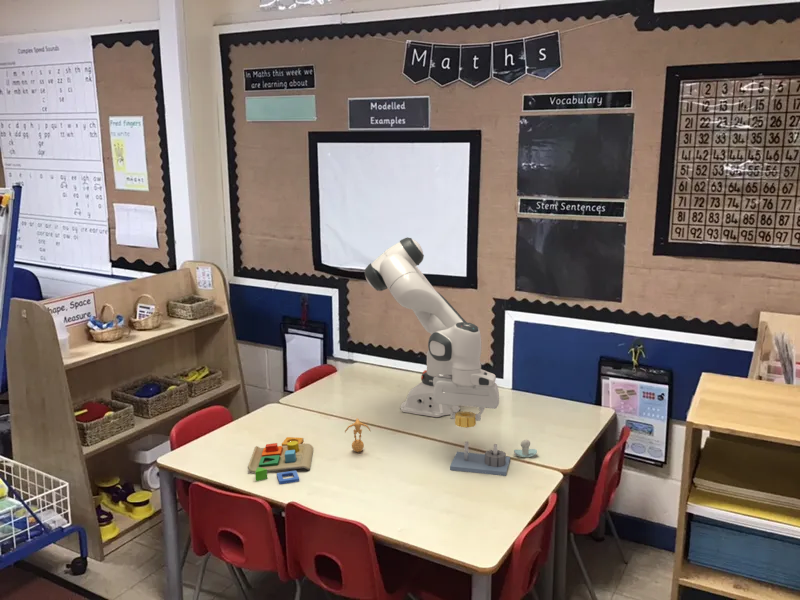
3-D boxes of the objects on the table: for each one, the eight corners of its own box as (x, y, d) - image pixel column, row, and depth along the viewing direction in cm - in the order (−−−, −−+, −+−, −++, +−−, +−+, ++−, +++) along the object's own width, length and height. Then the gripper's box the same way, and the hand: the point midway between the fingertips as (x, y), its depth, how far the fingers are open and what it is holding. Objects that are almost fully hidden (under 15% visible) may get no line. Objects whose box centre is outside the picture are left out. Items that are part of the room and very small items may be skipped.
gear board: (449, 469, 216) (450, 447, 215) (457, 455, 227) (457, 433, 226) (505, 475, 211) (506, 453, 210) (510, 460, 223) (510, 438, 222)
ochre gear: (453, 426, 216) (453, 417, 215) (457, 419, 222) (457, 410, 221) (473, 428, 214) (474, 418, 214) (477, 421, 220) (477, 412, 220)
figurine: (370, 448, 233) (369, 413, 231) (371, 455, 227) (370, 420, 225) (344, 449, 232) (344, 415, 230) (345, 457, 226) (344, 421, 224)
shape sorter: (259, 441, 240) (258, 428, 239) (315, 439, 241) (314, 426, 240) (243, 485, 207) (242, 471, 206) (308, 483, 208) (307, 468, 207)
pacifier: (511, 453, 229) (515, 460, 223) (511, 434, 228) (515, 441, 222) (533, 452, 230) (538, 459, 224) (533, 433, 229) (538, 440, 223)
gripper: (430, 376, 215) (430, 419, 218) (497, 381, 210) (496, 425, 212) (435, 370, 221) (434, 413, 224) (500, 375, 216) (499, 418, 218)
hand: (465, 419), depth 218 cm, fingers closed on ochre gear, 6 cm apart
